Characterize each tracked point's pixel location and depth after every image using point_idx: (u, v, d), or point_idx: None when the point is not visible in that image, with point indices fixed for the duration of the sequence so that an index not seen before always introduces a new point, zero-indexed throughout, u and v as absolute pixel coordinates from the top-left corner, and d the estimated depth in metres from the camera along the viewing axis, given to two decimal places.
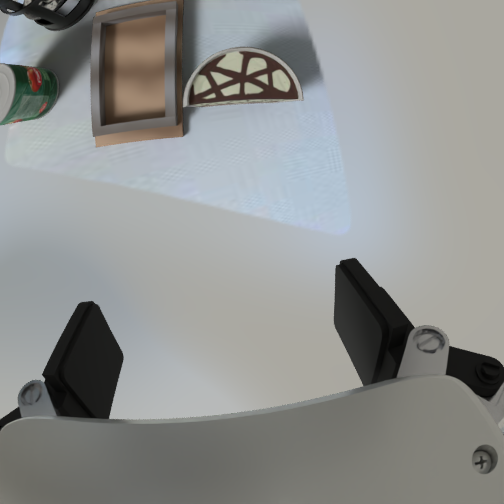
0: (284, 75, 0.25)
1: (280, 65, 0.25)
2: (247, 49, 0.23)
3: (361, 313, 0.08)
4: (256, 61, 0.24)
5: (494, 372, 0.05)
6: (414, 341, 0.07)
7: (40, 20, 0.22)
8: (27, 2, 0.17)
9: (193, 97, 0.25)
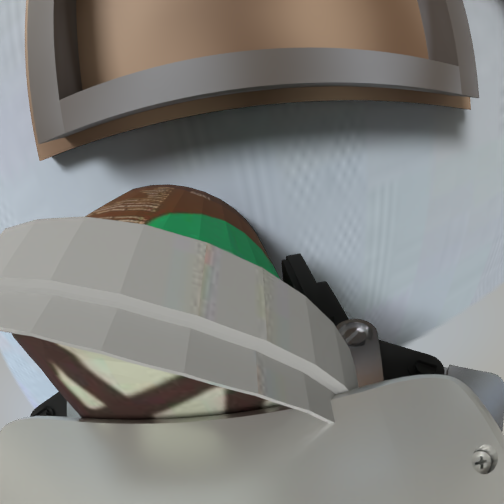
0: None
1: None
2: None
3: None
4: None
5: (428, 371, 0.06)
6: (341, 334, 0.07)
7: None
8: None
9: None
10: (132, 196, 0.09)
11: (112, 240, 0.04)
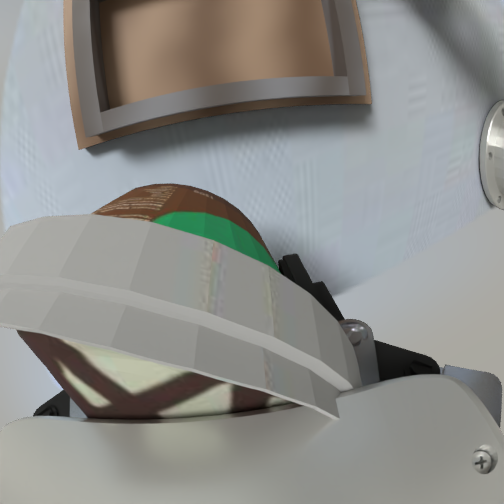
0: None
1: None
2: None
3: None
4: None
5: (423, 371, 0.06)
6: None
7: None
8: None
9: None
10: (136, 195, 0.09)
11: (120, 237, 0.04)
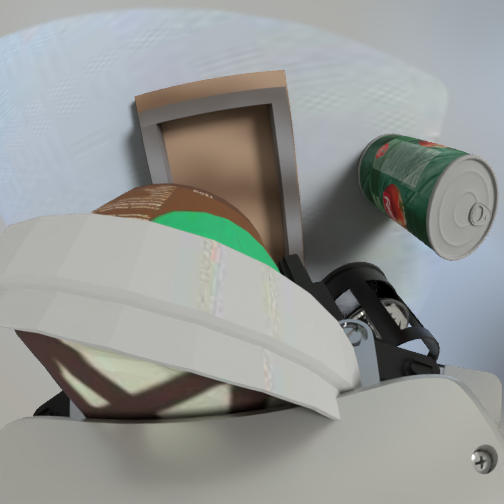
0: None
1: None
2: None
3: None
4: None
5: (423, 371, 0.06)
6: None
7: None
8: (402, 324, 0.26)
9: None
10: (135, 194, 0.09)
11: (118, 237, 0.04)
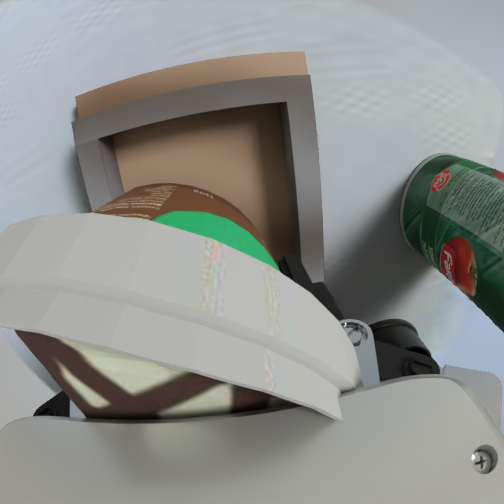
0: None
1: None
2: None
3: None
4: None
5: (423, 371, 0.06)
6: None
7: None
8: None
9: None
10: (135, 194, 0.09)
11: (119, 236, 0.04)
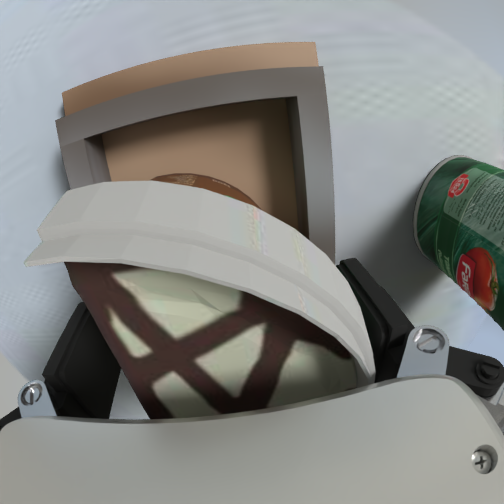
0: None
1: None
2: None
3: None
4: None
5: (494, 372, 0.05)
6: (414, 341, 0.07)
7: None
8: None
9: (96, 268, 0.04)
10: (162, 180, 0.10)
11: (180, 197, 0.05)
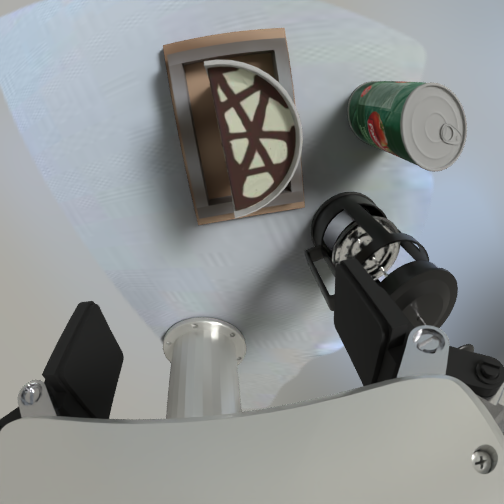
0: (266, 188, 0.21)
1: (279, 181, 0.21)
2: (298, 136, 0.19)
3: (361, 313, 0.08)
4: (280, 149, 0.20)
5: (494, 372, 0.05)
6: (414, 341, 0.07)
7: (379, 213, 0.33)
8: (394, 246, 0.30)
9: (218, 72, 0.17)
10: None
11: (239, 62, 0.17)
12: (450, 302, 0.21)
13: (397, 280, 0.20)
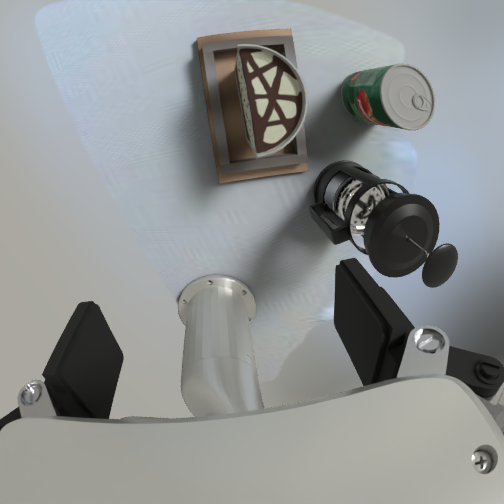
0: (280, 136, 0.27)
1: (291, 132, 0.27)
2: (304, 98, 0.25)
3: (361, 313, 0.08)
4: (291, 108, 0.26)
5: (494, 372, 0.05)
6: (414, 341, 0.07)
7: None
8: None
9: (247, 52, 0.23)
10: None
11: None
12: (434, 231, 0.26)
13: (386, 204, 0.25)
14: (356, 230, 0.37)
